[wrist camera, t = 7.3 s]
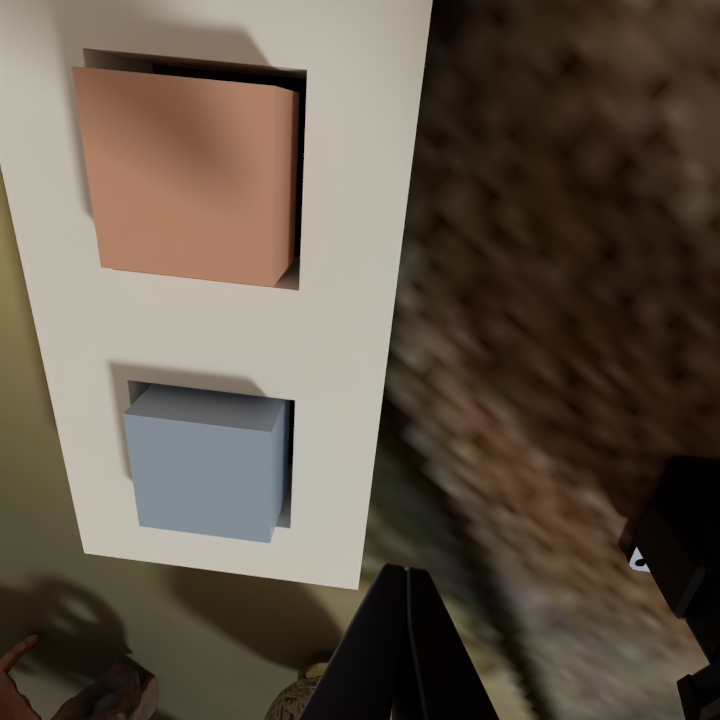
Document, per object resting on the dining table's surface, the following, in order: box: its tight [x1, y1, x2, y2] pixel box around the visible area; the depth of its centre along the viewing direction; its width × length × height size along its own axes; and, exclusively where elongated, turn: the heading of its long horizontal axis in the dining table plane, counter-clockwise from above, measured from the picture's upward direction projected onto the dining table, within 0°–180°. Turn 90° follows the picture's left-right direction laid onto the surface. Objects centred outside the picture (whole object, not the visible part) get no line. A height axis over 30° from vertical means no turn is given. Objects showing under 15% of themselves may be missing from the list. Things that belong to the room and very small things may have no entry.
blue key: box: [123, 383, 290, 543], centre depth 19 cm, size 5×5×3 cm
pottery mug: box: [0, 634, 158, 720], centre depth 30 cm, size 12×9×8 cm
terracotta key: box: [72, 66, 299, 287], centre depth 14 cm, size 5×5×3 cm
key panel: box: [0, 0, 433, 590], centre depth 18 cm, size 12×22×4 cm, turn 175°
